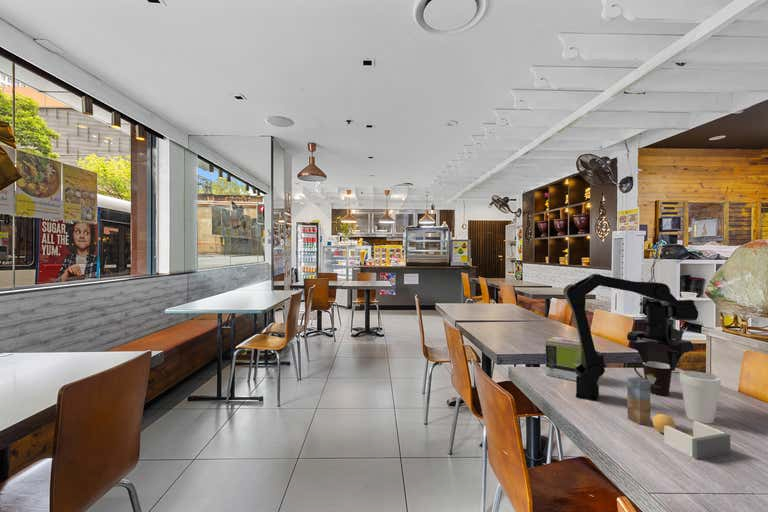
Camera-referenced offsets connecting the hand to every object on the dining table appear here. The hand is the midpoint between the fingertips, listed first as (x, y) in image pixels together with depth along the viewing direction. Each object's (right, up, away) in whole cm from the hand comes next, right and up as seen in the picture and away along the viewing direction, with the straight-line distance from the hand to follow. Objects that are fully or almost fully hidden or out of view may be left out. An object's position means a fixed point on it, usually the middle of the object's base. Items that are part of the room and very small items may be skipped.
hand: (658, 366), depth 123 cm
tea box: (-16, -13, +28) cm, 35 cm away
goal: (-12, -12, -29) cm, 34 cm away
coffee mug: (+6, -12, +11) cm, 17 cm away
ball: (-14, -10, -21) cm, 27 cm away
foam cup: (+3, -12, -12) cm, 18 cm away
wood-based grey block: (-16, -12, -13) cm, 24 cm away
